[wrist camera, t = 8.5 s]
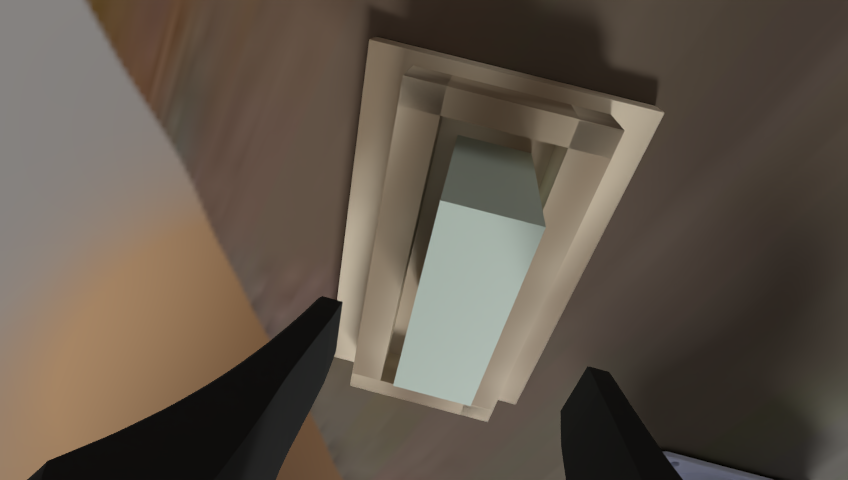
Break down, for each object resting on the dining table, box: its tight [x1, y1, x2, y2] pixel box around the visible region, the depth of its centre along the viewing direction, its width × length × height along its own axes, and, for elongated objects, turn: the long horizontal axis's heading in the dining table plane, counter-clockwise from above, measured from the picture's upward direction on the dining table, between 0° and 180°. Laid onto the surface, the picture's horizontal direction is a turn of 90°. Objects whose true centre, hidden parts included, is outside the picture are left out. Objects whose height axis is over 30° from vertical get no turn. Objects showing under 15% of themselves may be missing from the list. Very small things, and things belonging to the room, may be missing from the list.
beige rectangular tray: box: [334, 37, 664, 422], centre depth 20 cm, size 11×17×3 cm, turn 168°
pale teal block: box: [393, 135, 546, 406], centre depth 16 cm, size 3×8×6 cm, turn 168°
